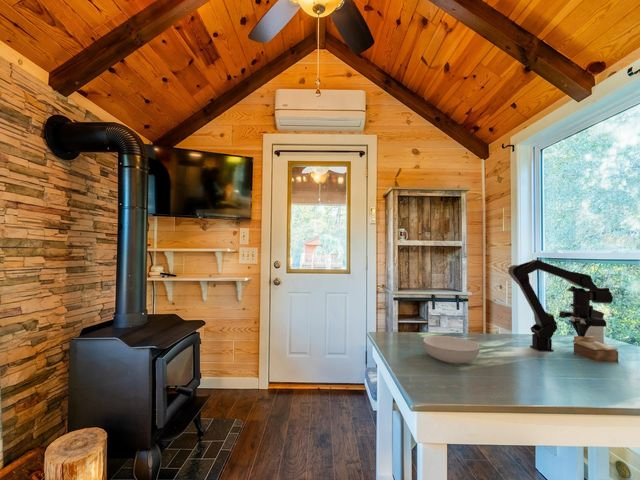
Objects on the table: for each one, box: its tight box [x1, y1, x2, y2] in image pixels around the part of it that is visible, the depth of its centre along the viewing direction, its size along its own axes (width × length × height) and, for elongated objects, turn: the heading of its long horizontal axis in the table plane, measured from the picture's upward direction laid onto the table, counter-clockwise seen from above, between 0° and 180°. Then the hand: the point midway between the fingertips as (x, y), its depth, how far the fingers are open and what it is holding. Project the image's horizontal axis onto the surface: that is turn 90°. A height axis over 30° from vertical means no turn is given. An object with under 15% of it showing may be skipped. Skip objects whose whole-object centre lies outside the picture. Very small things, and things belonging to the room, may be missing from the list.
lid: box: [572, 335, 618, 351], centre depth 134 cm, size 9×11×2 cm
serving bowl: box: [422, 335, 481, 364], centre depth 128 cm, size 21×21×7 cm
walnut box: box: [573, 342, 619, 363], centre depth 133 cm, size 9×11×4 cm
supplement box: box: [585, 326, 605, 344], centre depth 158 cm, size 7×7×13 cm
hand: (581, 338), depth 140 cm, fingers closed
